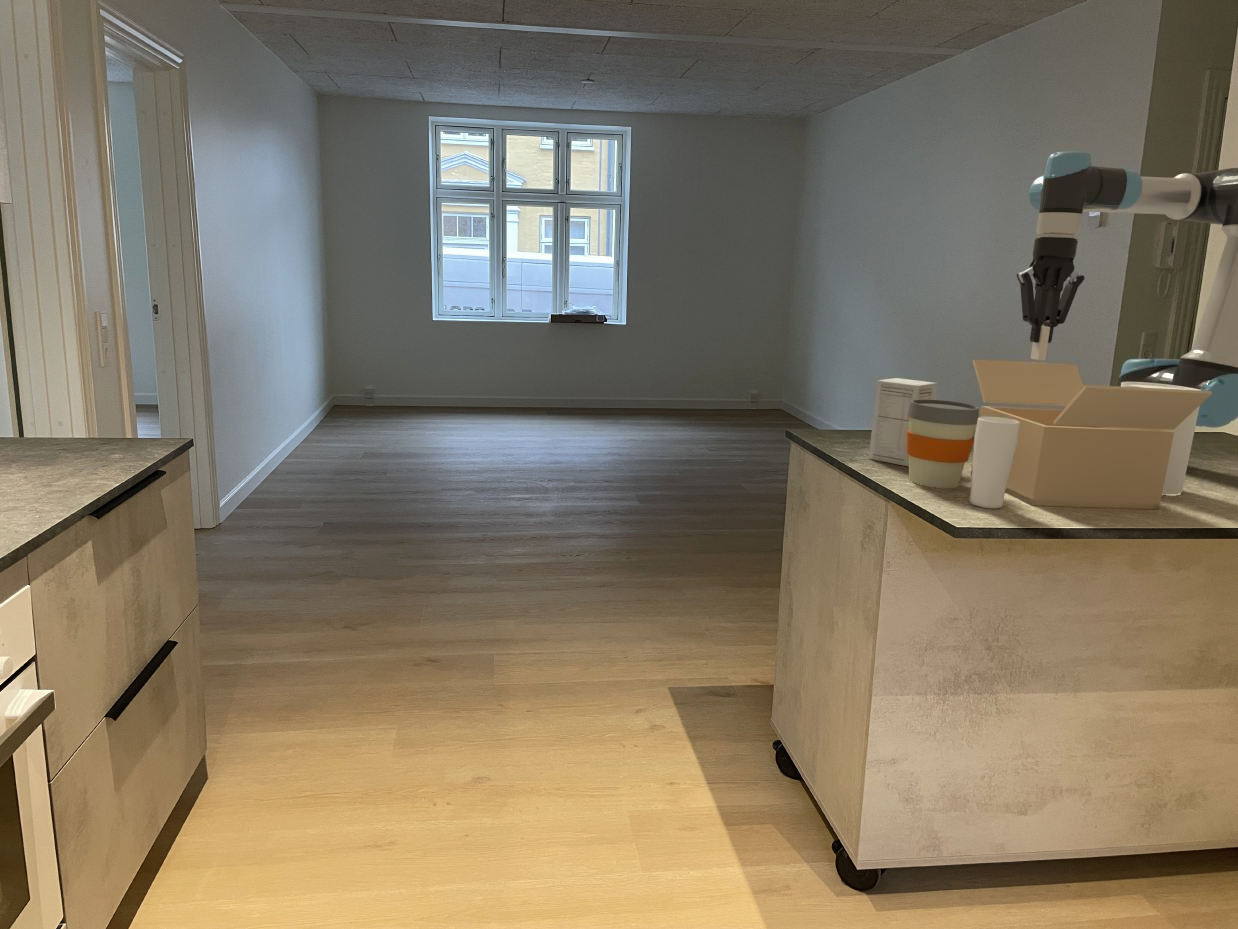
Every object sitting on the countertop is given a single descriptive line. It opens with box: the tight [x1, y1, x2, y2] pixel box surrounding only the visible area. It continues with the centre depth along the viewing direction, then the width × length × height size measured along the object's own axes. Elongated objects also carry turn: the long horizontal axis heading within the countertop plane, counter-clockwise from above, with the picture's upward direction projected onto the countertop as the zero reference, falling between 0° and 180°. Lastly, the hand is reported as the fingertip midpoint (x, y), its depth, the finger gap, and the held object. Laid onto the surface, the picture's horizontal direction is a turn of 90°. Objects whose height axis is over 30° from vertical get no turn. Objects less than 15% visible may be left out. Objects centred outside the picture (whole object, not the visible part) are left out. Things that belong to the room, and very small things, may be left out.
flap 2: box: [1053, 384, 1212, 430], centre depth 148 cm, size 22×10×1 cm
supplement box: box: [868, 377, 938, 467], centre depth 185 cm, size 10×9×17 cm
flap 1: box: [972, 358, 1085, 407], centre depth 177 cm, size 22×10×1 cm
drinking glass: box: [969, 416, 1020, 510], centre depth 151 cm, size 7×7×15 cm
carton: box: [970, 405, 1174, 510], centre depth 165 cm, size 24×22×14 cm
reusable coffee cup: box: [907, 399, 980, 489], centre depth 166 cm, size 13×13×15 cm
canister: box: [1121, 382, 1200, 495], centre depth 173 cm, size 14×14×20 cm
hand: (1037, 359), depth 176 cm, fingers closed
